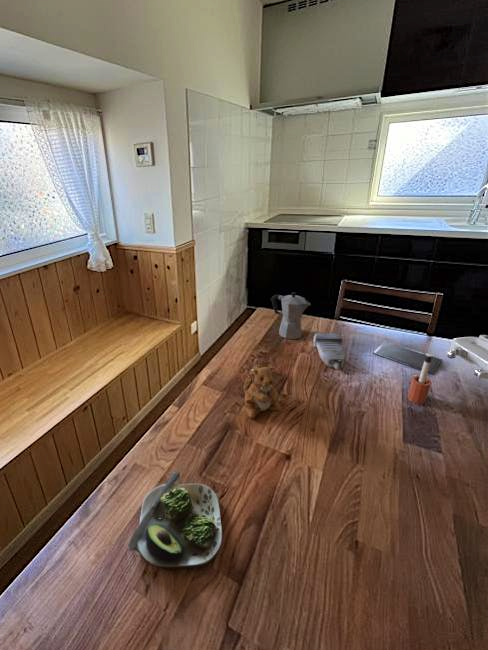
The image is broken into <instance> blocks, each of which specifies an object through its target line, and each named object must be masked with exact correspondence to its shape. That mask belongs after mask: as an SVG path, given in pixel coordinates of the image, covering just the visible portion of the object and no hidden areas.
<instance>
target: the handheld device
mask: <svg viewBox="0 0 488 650" xmlns="http://www.w3.org/2000/svg"><path fill="white" fill-rule="evenodd" d="M312 341H313V348H314V349H317V353H318V355H319V357H320V359H321V360H322V362H323V364H325V365H326V366H327V367H328V368H334V369H335V370H337V371H340V370H341V369H342V368H344V367H345V365H346V363H347V352H346V351H345V349H344V346H343V345H342V344H343V338H342V337H341V335H339V334H336V333H325V332H324V333H322V332H321V333H319V332H317V333H315V334H314V336H313V340H312Z"/></svg>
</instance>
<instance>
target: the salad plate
mask: <svg viewBox="0 0 488 650" xmlns="http://www.w3.org/2000/svg"><path fill="white" fill-rule="evenodd" d="M180 476H181V475H180V472H179V471H177V470H175V471H173V472H172V473H171V475H170V476H169V478H168V479H167V481H166V483H165V484H162V485H158V486H156V487H154V488H152V490H151V491H149V492H148V493H147V494H146V495H145V496H144V498H143V500H142V504H141V508H140V516H139V524H138V527H137V528H136V529H135V530H134V532H133V534H132V536H131V538H130V540H129V542H128V544H127V545H128V546H127V547H128V551H129V552H132V551H136V552H137V553H139V555H140V556H141V558H142V559H143V560H144V561H145V562H146V563H148V565H151V566H154V567H157V568H159V569H167V570H182V569H185V570H193V569H194V570H195V569H198V568H203V567H207V566H208V565H210V564H211V562H212V561H213V560H214V559H215V558H216V557H217V555H218V553H219V552H220V550H221V546H222V544H223V543H222V542H223V527H222V517H221V509H220V503H219V497H218V496H217V494H216V492H214V490H213V489H211V487H209V486H208V485H206V484H203V483H180V482H179V478H180ZM159 518H161V519H159Z"/></svg>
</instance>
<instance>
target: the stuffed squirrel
mask: <svg viewBox="0 0 488 650" xmlns="http://www.w3.org/2000/svg"><path fill="white" fill-rule="evenodd" d="M274 368H275V367H274V365H270V366H269V367H267V366H264V365H262V364H260V363H259V364H255V365H254V366H253V367H252V369H251V370H250V371H249V373H248V375H247V377H246V378H245V381H244V382H243V392H244V407H245V412H246V414H247V415H248V417H249V418H250V419H255V418H256V417H257V416H258V414H259V413H260V412H264V411H266V410H267V409H268V410H270V411H279V412H280V411H281V410H282V406H281V405H280V404H279V399H280V397H279V394H278V392H277V391H276V389H275V387H273V386H274V385H276V386H278V385H280V383H279V382H278V381H275V380H274V377H273V372H272V371H273V370H274Z"/></svg>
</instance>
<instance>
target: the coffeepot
mask: <svg viewBox="0 0 488 650" xmlns="http://www.w3.org/2000/svg"><path fill="white" fill-rule="evenodd" d="M296 294H297V293H296V292H294V291H293V292H292V291H291V294H287V295H282V294H281V295H280V294H274V295H273V296H272V297H270V301H271V304H272V307H273V312H274V313H275V314H276V315H280V314H282V318H281V323H280V326H279V330H278V335H279V336H280V337H282V338H283V337H284V339H286V340H298V339H300V338H302V337H303V335H302V322H301V318H302V317H303V314H304V311H305V310H306V309H307V308H308V307H309V306H310V307H311V302H309V301H308V300H306V298H305V297H302V296H300V295H296ZM277 300H278V301H280V302H281V311H282V313H281V311H278V306H277Z"/></svg>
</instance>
